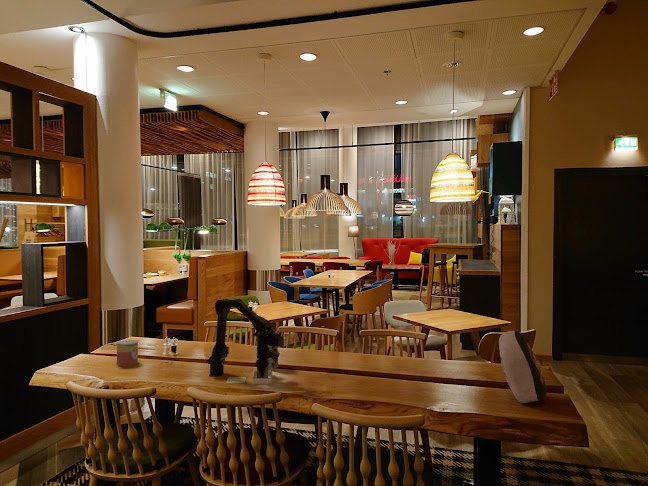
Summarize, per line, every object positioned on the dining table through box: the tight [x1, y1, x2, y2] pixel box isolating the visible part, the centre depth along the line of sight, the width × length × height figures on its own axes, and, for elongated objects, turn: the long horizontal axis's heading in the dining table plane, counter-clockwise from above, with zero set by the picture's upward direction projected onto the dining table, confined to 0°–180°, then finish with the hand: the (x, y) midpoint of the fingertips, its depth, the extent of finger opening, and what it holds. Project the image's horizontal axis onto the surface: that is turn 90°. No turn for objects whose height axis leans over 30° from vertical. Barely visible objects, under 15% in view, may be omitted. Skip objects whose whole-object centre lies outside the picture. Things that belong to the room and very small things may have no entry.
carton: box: [252, 368, 273, 385], centre depth 235 cm, size 9×15×4 cm, turn 5°
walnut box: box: [256, 366, 269, 379], centre depth 235 cm, size 6×4×6 cm
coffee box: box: [268, 345, 279, 371], centre depth 258 cm, size 9×6×16 cm
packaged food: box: [498, 330, 548, 404], centre depth 206 cm, size 22×20×30 cm
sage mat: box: [225, 376, 247, 384], centre depth 233 cm, size 9×9×1 cm
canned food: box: [116, 339, 139, 367], centre depth 268 cm, size 11×11×12 cm
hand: (262, 376), depth 235 cm, fingers closed on walnut box, 4 cm apart
